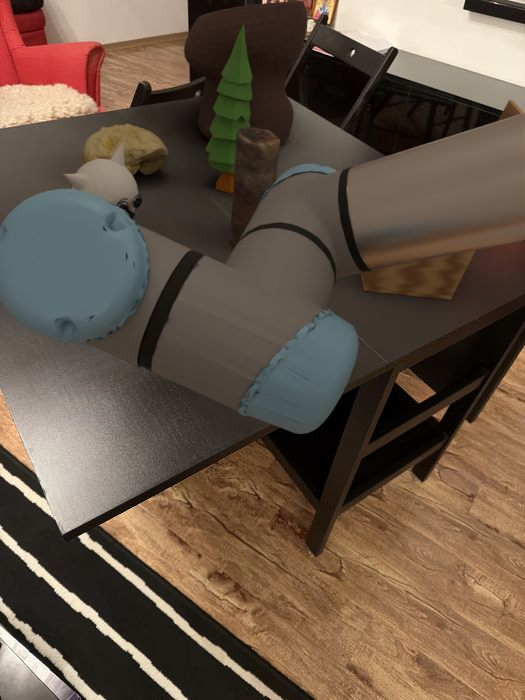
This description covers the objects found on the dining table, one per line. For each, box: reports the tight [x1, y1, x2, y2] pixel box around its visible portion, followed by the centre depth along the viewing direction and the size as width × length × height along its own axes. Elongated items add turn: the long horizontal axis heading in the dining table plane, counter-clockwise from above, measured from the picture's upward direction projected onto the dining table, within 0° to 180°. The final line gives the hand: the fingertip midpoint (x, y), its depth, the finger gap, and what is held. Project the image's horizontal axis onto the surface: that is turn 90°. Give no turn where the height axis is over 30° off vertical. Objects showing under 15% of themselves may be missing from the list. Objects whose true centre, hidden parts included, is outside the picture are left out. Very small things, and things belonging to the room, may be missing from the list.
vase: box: [183, 0, 309, 146], centre depth 113 cm, size 27×27×30 cm
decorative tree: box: [205, 24, 252, 194], centre depth 92 cm, size 10×9×30 cm
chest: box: [360, 250, 477, 301], centre depth 84 cm, size 16×14×12 cm
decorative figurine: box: [63, 141, 143, 220], centre depth 74 cm, size 15×15×20 cm
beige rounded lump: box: [82, 122, 169, 176], centre depth 99 cm, size 17×11×15 cm
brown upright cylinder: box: [229, 127, 281, 248], centre depth 83 cm, size 8×7×20 cm
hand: (174, 308), depth 60 cm, fingers closed on apple, 8 cm apart
